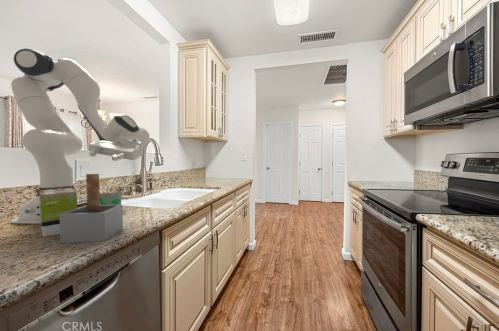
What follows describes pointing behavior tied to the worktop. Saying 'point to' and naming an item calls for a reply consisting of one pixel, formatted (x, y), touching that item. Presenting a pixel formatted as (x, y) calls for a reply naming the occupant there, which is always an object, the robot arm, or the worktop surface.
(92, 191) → the brown wooden post
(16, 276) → the worktop surface
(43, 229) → the tea box
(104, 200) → the food container
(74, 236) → the gray open-top rectangular bin
